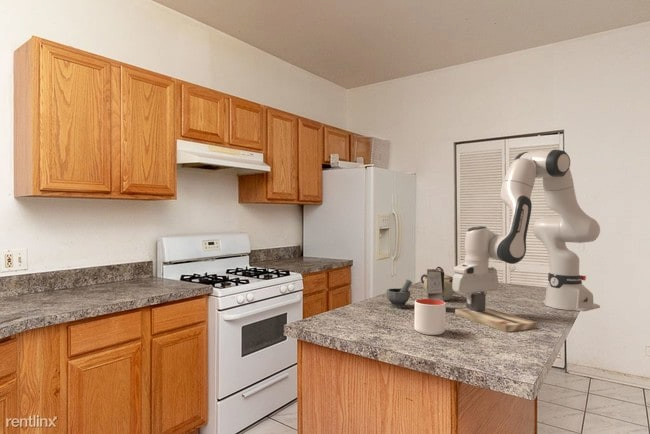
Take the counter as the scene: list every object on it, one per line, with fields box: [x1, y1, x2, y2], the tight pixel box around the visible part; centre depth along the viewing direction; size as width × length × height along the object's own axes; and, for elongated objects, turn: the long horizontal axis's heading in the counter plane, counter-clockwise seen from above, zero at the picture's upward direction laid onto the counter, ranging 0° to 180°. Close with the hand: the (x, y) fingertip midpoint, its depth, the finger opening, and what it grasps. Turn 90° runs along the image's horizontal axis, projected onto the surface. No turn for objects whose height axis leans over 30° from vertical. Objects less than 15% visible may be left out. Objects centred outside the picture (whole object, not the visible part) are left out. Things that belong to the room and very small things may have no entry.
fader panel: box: [454, 306, 537, 333], centre depth 148 cm, size 14×25×2 cm, turn 22°
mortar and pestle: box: [386, 279, 413, 309], centre depth 169 cm, size 11×9×12 cm
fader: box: [465, 292, 487, 311], centre depth 156 cm, size 4×6×6 cm, turn 22°
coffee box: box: [426, 268, 445, 302], centre depth 166 cm, size 9×6×16 cm
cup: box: [414, 298, 447, 336], centre depth 133 cm, size 10×10×10 cm
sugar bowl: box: [420, 266, 456, 301], centre depth 186 cm, size 20×15×15 cm
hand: (475, 303), depth 156 cm, fingers closed on fader, 4 cm apart
